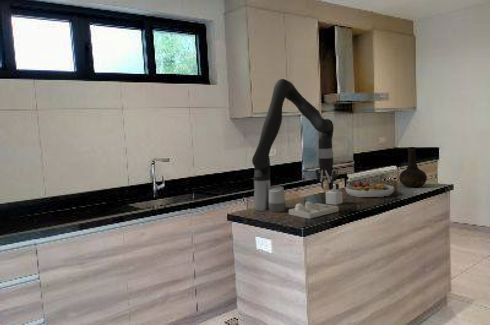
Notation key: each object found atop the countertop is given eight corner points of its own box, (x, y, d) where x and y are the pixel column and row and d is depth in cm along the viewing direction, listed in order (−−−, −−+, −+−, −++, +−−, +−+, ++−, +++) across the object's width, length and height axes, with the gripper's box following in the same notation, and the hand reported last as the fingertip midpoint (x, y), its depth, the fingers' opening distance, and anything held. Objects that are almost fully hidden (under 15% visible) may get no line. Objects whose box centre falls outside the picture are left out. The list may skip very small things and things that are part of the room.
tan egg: (321, 190, 205) (320, 179, 205) (326, 188, 208) (326, 178, 207) (327, 190, 202) (327, 180, 201) (333, 189, 204) (332, 179, 204)
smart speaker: (265, 212, 214) (264, 187, 213) (276, 209, 221) (275, 185, 220) (278, 214, 208) (277, 188, 206) (289, 211, 214) (288, 186, 213)
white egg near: (293, 214, 203) (293, 203, 203) (299, 212, 206) (299, 202, 206) (299, 215, 200) (299, 204, 199) (305, 213, 202) (305, 203, 202)
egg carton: (288, 215, 204) (288, 209, 204) (317, 208, 217) (317, 203, 217) (309, 220, 192) (309, 213, 192) (338, 212, 205) (338, 206, 205)
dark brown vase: (430, 185, 273) (429, 146, 271) (422, 189, 260) (421, 147, 257) (404, 184, 285) (403, 146, 282) (395, 187, 272) (394, 148, 269)
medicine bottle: (332, 201, 234) (331, 182, 233) (342, 203, 229) (342, 183, 228) (325, 203, 229) (325, 183, 228) (336, 205, 224) (335, 184, 223)
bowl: (404, 195, 244) (404, 183, 243) (365, 200, 233) (365, 188, 232) (372, 189, 272) (372, 178, 271) (336, 194, 261) (336, 182, 260)
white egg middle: (303, 211, 208) (302, 201, 207) (308, 210, 210) (308, 200, 210) (309, 212, 204) (308, 202, 204) (314, 211, 207) (314, 201, 206)
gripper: (341, 156, 200) (342, 189, 201) (320, 156, 211) (321, 187, 213) (331, 158, 195) (333, 191, 197) (310, 157, 207) (312, 188, 208)
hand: (327, 188), depth 205 cm, fingers closed on tan egg, 4 cm apart
